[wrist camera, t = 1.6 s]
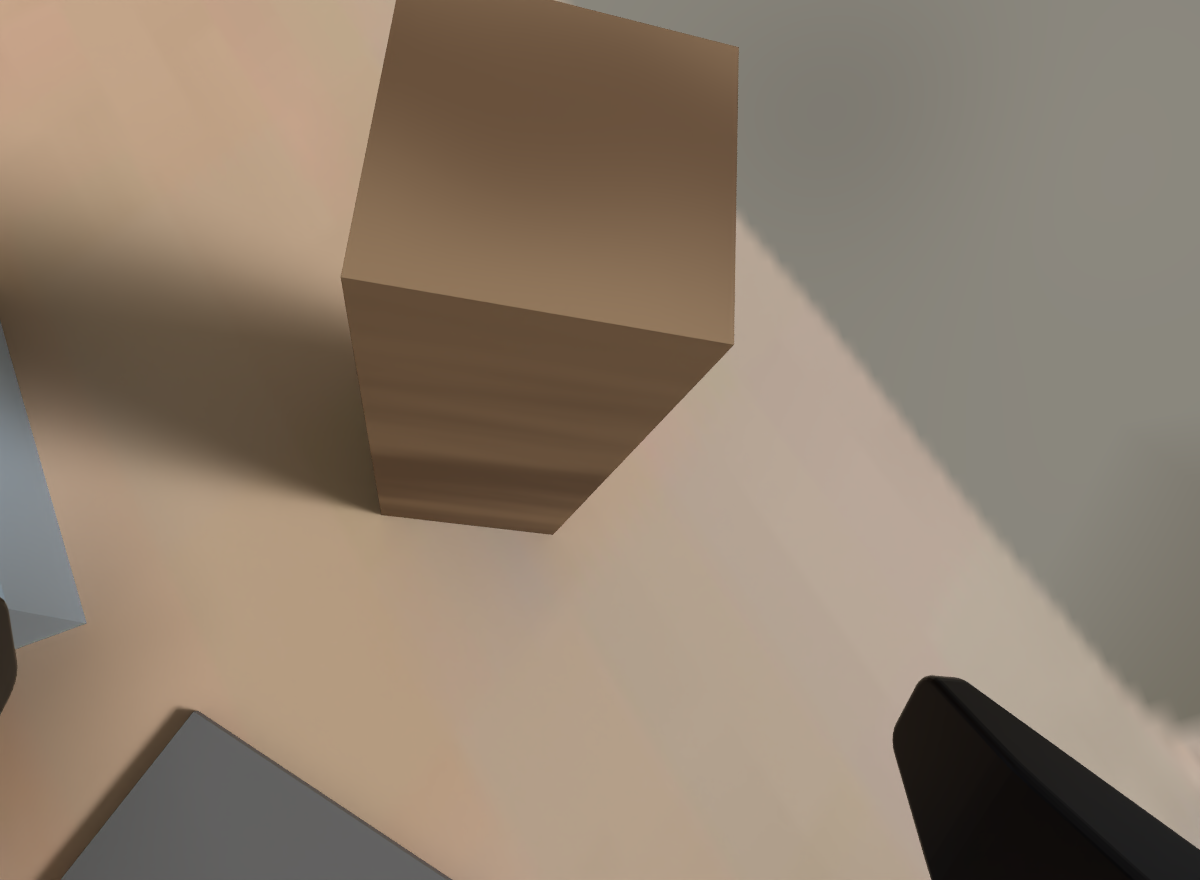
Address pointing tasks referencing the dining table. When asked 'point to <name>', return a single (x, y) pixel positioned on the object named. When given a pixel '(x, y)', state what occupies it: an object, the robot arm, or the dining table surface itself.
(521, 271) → the walnut pillar
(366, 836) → the card
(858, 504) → the dining table surface
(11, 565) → the blue base block
